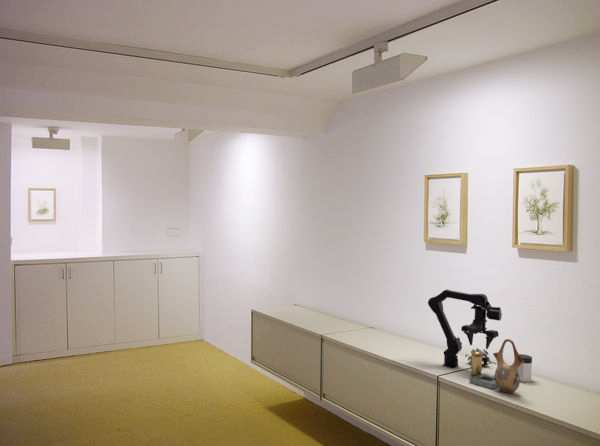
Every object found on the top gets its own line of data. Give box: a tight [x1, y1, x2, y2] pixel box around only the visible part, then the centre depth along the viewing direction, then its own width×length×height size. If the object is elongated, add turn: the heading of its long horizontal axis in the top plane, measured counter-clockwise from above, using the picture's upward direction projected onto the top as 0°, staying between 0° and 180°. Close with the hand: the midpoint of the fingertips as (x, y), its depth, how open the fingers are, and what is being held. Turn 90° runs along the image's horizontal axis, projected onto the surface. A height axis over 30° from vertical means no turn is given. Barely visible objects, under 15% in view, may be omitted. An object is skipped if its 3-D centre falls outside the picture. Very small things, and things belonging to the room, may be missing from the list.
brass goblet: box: [470, 349, 484, 378], centre depth 270 cm, size 6×6×13 cm
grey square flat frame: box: [469, 373, 499, 390], centre depth 260 cm, size 12×12×2 cm
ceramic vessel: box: [492, 338, 524, 394], centre depth 249 cm, size 16×9×25 cm, turn 32°
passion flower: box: [465, 347, 492, 366], centre depth 293 cm, size 11×11×12 cm
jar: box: [518, 353, 533, 383], centre depth 269 cm, size 9×8×12 cm
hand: (478, 347), depth 280 cm, fingers open, 9 cm apart
